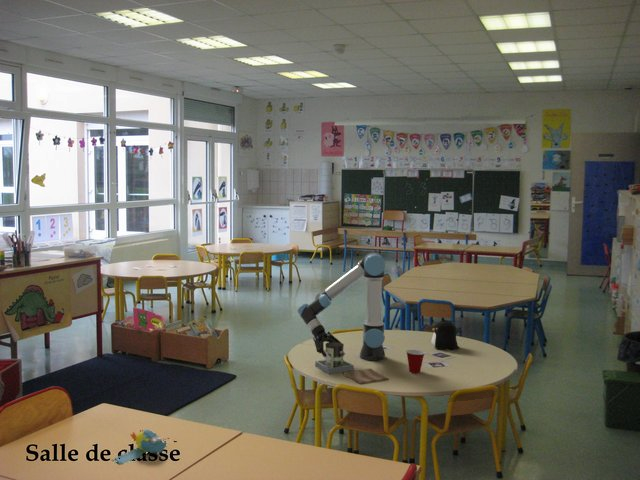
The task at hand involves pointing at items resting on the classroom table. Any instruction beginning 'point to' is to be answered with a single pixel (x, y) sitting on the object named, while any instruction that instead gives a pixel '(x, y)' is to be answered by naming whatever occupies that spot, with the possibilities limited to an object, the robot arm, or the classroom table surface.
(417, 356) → the plastic cup
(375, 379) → the walnut board
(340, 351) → the coffee can
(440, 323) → the penguin
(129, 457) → the blue toy bird
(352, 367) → the grey tub
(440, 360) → the classroom table surface
